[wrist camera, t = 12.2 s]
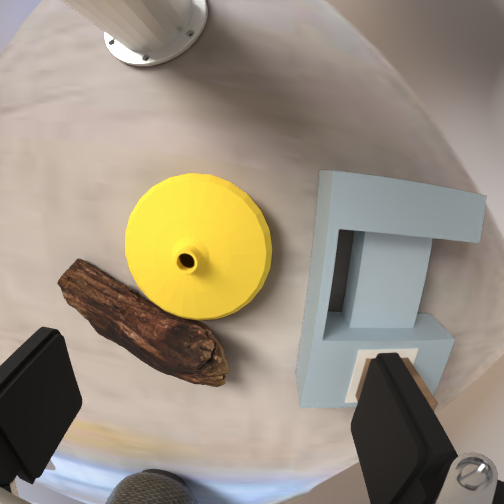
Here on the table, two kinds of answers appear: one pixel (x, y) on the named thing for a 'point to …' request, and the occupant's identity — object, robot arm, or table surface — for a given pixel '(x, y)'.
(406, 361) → the walnut block
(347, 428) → the table surface
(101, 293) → the driftwood
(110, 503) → the planter
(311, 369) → the slot box
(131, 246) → the yellow piece
